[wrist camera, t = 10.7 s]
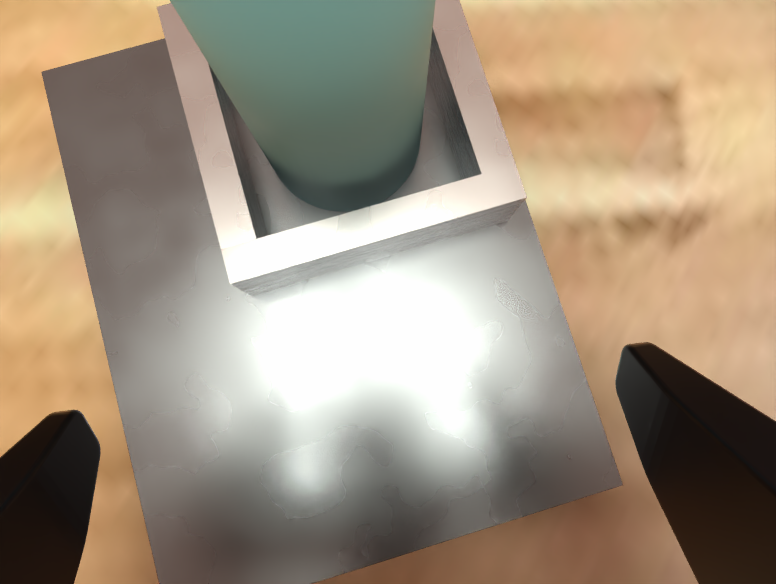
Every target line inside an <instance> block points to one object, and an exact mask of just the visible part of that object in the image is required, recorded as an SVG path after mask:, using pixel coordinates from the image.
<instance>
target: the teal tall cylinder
mask: <svg viewBox="0 0 776 584" xmlns="http://www.w3.org/2000/svg"><path fill="white" fill-rule="evenodd" d="M170 1H171V3H172V5H173V6H174V8H175V10H176V11H177V13H178V15H179V16H180V18H181V19H182V21H183V23H184V24H185V26H186V28H187V29H188V31H189V32H190V34H191V36H192V37H193V39H194V41H195V42H196V44H197V45H198V47H199V49H200V50H201V52H202V54H203V55H204V57H205V59H206V60H207V62H208V63H209V65H210V67H211V68H212V70H213V72H214V73H215V75H216V76H217V78H218V80H219V81H220V83H221V85H222V86H223V88H224V89H225V91H226V93H227V94H228V96H229V98H230V99H231V101H232V103H233V104H234V106H235V107H236V109H237V111H238V112H239V114H240V116H241V117H242V119H243V120H244V122H245V124H246V125H247V127H248V129H249V130H250V132H251V133H252V135H253V137H254V138H255V140H256V142H257V143H258V145H259V146H260V148H261V150H262V151H263V153H264V155H265V156H266V158H267V160H268V161H269V163H270V164H271V166H272V168H273V169H274V171H275V173H276V174H277V176H278V177H279V179H280V180H281V181H282V183H283V184H284V185H285V186H286V188H287V189H288V190H289V191H290V192H291V193H293V194H294V195H295V196H297V197H298V198H299V199H301V200H303V201H304V202H306V203H308V204H310V205H313V206H315V207H318V208H321V209H325V210H330V211H345V212H347V211H355V210H359V209H362V208H366V207H369V206H373V205H376V204H378V203H380V202H381V201H383V200H385V199H386V198H388V197H389V196H391V195H392V194H393V193H394V192H396V191H397V190H398V189H399V188H400V187H401V186H402V184H403V183H404V182H405V181H406V180H407V178H408V176H409V175H410V173H411V172H412V170H413V167H414V165H415V163H416V160H417V157H418V153H419V148H420V140H421V131H422V122H423V112H424V103H425V94H426V85H427V75H428V66H429V57H430V47H431V38H432V29H433V19H434V10H435V1H436V0H170Z"/></svg>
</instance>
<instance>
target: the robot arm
mask: <svg viewBox="0 0 776 584" xmlns="http://www.w3.org/2000/svg"><path fill="white" fill-rule="evenodd" d="M616 391H617V394H618V397H619V400H620V403H621V406H622V409H623V411H624V414H625V417H626V420H627V423H628V426H629V428H630V431H631V434H632V437H633V440H634V443H635V446H636V448H637V451H638V454H639V457H640V460H641V462H642V465H643V468H644V470H645V473H646V475H647V478H648V480H649V482H650V484H651V486H652V489H653V491H654V493H655V495H656V497H657V499H658V501H659V503H660V505H661V507H662V509H663V511H664V513H665V515H666V517H667V519H668V522H669V524H670V526H671V528H672V530H673V532H674V534H675V536H676V538H677V540H678V542H679V544H680V546H681V548H682V550H683V552H684V555H685V557H686V559H687V561H688V563H689V565H690V567H691V569H692V571H693V573H694V575H695V577H696V579H697V581H698V583H699V584H776V421H775V420H773V419H771V418H770V417H768V416H767V415H765V414H763V413H762V412H760V411H759V410H757V409H756V408H754V407H752V406H751V405H749V404H748V403H746V402H744V401H743V400H741V399H740V398H738V397H737V396H735V395H733V394H732V393H730V392H729V391H727V390H725V389H724V388H722V387H721V386H719V385H718V384H716V383H714V382H713V381H711V380H710V379H708V378H706V377H705V376H703V375H702V374H700V373H699V372H697V371H695V370H694V369H692V368H691V367H689V366H687V365H686V364H684V363H683V362H681V361H680V360H678V359H676V358H675V357H673V356H672V355H670V354H668V353H667V352H665V351H664V350H662V349H661V348H659V347H657V346H656V345H654V344H652V343H649V342H644V343H635V344H628V345H626V346H625V347H624V348H623V350H622V353H621V357H620V362H619V366H618V371H617V375H616ZM99 460H100V444H99V441H98V439H97V437H96V436H95V434H94V432H93V431H92V429H91V427H90V425H89V424H88V422H87V420H86V419H85V417H84V415H83V414H82V413H81V412H80V411H78V410H68V411H59V412H54V413H51V414H49V415H48V416H47V417H45V418H44V419H43V420H42V421H41V422H40V423H39V424H37V425H36V426H35V427H34V428H33V429H32V430H31V431H30V432H28V433H27V434H26V435H25V436H24V437H23V438H22V439H21V440H19V441H18V442H17V443H16V444H15V445H14V446H13V447H11V448H10V449H9V450H8V451H7V452H6V453H5V454H4V455H2V456H1V457H0V584H74V581H75V578H76V574H77V571H78V567H79V564H80V560H81V557H82V553H83V549H84V545H85V541H86V536H87V531H88V525H89V519H90V513H91V507H92V501H93V496H94V490H95V484H96V478H97V472H98V466H99Z"/></svg>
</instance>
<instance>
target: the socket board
mask: <svg viewBox="0 0 776 584" xmlns="http://www.w3.org/2000/svg"><path fill="white" fill-rule="evenodd" d="M157 9H158V13H159V17H160V21H161V25H162V28H163V32H164V36H165V39H161V40H158V41H154V42H150V43H146V44H143V45H139V46H135V47H132V48H128V49H124V50H121V51H117V52H113V53H109V54H106V55H102V56H98V57H95V58H91V59H87V60H84V61H80V62H76V63H72V64H69V65H65V66H61V67H58V68H54V69H50V70H47V71H43V72H42V76H43V81H44V85H45V89H46V94H47V98H48V102H49V107H50V111H51V115H52V120H53V124H54V128H55V133H56V137H57V141H58V146H59V150H60V155H61V159H62V163H63V168H64V172H65V176H66V181H67V185H68V189H69V194H70V198H71V202H72V207H73V211H74V215H75V220H76V224H77V228H78V233H79V237H80V241H81V246H82V250H83V254H84V259H85V263H86V267H87V272H88V276H89V280H90V285H91V289H92V293H93V298H94V302H95V307H96V311H97V315H98V320H99V324H100V328H101V333H102V337H103V341H104V346H105V350H106V354H107V359H108V363H109V367H110V372H111V376H112V380H113V385H114V389H115V393H116V398H117V402H118V406H119V411H120V415H121V419H122V424H123V428H124V432H125V437H126V441H127V445H128V450H129V454H130V458H131V463H132V467H133V472H134V476H135V480H136V485H137V489H138V493H139V498H140V502H141V506H142V511H143V515H144V519H145V524H146V528H147V532H148V537H149V541H150V545H151V550H152V554H153V558H154V563H155V567H156V571H157V576H158V580H159V584H312V583H315V582H319V581H322V580H325V579H328V578H331V577H334V576H338V575H341V574H344V573H347V572H350V571H353V570H356V569H360V568H363V567H366V566H369V565H372V564H375V563H379V562H382V561H385V560H388V559H391V558H394V557H397V556H401V555H404V554H407V553H410V552H413V551H416V550H420V549H423V548H426V547H429V546H432V545H435V544H438V543H442V542H445V541H448V540H451V539H454V538H457V537H461V536H464V535H467V534H470V533H473V532H476V531H479V530H483V529H486V528H489V527H492V526H495V525H498V524H502V523H505V522H508V521H511V520H514V519H517V518H520V517H524V516H527V515H530V514H533V513H536V512H539V511H543V510H546V509H549V508H552V507H555V506H558V505H561V504H565V503H568V502H571V501H574V500H577V499H580V498H584V497H587V496H590V495H593V494H596V493H599V492H602V491H606V490H609V489H612V488H615V487H618V486H621V485H623V484H622V481H621V478H620V475H619V472H618V469H617V466H616V463H615V460H614V458H613V455H612V452H611V449H610V446H609V443H608V440H607V437H606V434H605V431H604V428H603V425H602V423H601V420H600V417H599V414H598V411H597V408H596V405H595V402H594V399H593V396H592V393H591V390H590V388H589V385H588V382H587V379H586V376H585V373H584V370H583V367H582V364H581V361H580V358H579V355H578V353H577V350H576V347H575V344H574V341H573V338H572V335H571V332H570V329H569V326H568V323H567V320H566V318H565V315H564V312H563V309H562V306H561V303H560V300H559V297H558V294H557V291H556V288H555V285H554V283H553V280H552V277H551V274H550V271H549V268H548V265H547V262H546V259H545V256H544V253H543V250H542V248H541V245H540V242H539V239H538V236H537V233H536V230H535V227H534V224H533V221H532V218H531V216H530V213H529V210H528V207H527V204H526V201H525V199H526V198H527V196H526V193H525V190H524V187H523V184H522V181H521V178H520V176H519V173H518V170H517V167H516V164H515V161H514V158H513V155H512V152H511V149H510V146H509V144H508V141H507V138H506V135H505V132H504V129H503V126H502V123H501V120H500V117H499V114H498V112H497V109H496V106H495V103H494V100H493V97H492V94H491V91H490V88H489V85H488V82H487V80H486V77H485V74H484V71H483V68H482V65H481V62H480V59H479V56H478V53H477V50H476V48H475V45H474V42H473V39H472V36H471V33H470V30H469V27H468V24H467V21H466V18H465V16H464V13H463V10H462V7H461V4H460V1H459V0H436V1H435V10H434V19H433V29H432V38H431V47H430V57H429V66H428V75H427V85H426V94H425V103H424V112H423V122H422V131H421V140H420V148H419V153H418V157H417V160H416V163H415V165H414V167H413V170H412V172H411V173H410V175H409V176H408V178H407V180H406V181H405V182H404V183H403V184H402V186H401V187H400V188H399V189H398V190H397V191H396V192H394V193H393V194H392V195H391V196H389V197H388V198H386V199H385V200H383V201H381V202H380V203H378V204H376V205H373V206H369V207H366V208H362V209H359V210H355V211H347V212H345V211H330V210H325V209H321V208H318V207H315V206H313V205H310V204H308V203H306V202H304V201H303V200H301V199H299V198H298V197H297V196H295V195H294V194H293V193H291V192H290V191H289V190H288V189H287V188H286V186H285V185H284V184H283V183H282V181H281V180H280V179H279V177H278V176H277V174H276V173H275V171H274V169H273V168H272V166H271V164H270V163H269V161H268V160H267V158H266V156H265V155H264V153H263V151H262V150H261V148H260V146H259V145H258V143H257V142H256V140H255V138H254V137H253V135H252V133H251V132H250V130H249V129H248V127H247V125H246V124H245V122H244V120H243V119H242V117H241V116H240V114H239V112H238V111H237V109H236V107H235V106H234V104H233V103H232V101H231V99H230V98H229V96H228V94H227V93H226V91H225V89H224V88H223V86H222V85H221V83H220V81H219V80H218V78H217V76H216V75H215V73H214V72H213V70H212V68H211V67H210V65H209V63H208V62H207V60H206V59H205V57H204V55H203V54H202V52H201V50H200V49H199V47H198V45H197V44H196V42H195V41H194V39H193V37H192V36H191V34H190V32H189V31H188V29H187V28H186V26H185V24H184V23H183V21H182V19H181V18H180V16H179V15H178V13H177V11H176V10H175V8H174V6H173V5H172V3H170V4H166V5H162V6H159V7H157Z"/></svg>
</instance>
